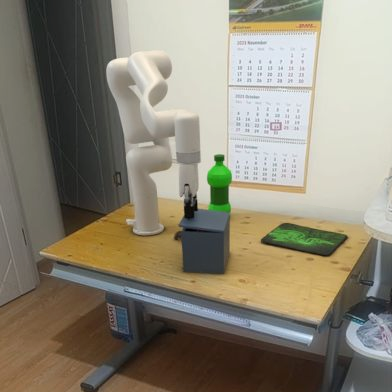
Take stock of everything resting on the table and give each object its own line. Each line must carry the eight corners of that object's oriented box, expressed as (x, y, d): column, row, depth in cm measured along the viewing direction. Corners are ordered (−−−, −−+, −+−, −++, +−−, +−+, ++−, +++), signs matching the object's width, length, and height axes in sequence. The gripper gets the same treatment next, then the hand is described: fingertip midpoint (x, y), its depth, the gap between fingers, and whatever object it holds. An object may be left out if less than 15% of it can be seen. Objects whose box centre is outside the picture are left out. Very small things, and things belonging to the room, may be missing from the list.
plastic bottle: (221, 211, 207) (221, 151, 192) (236, 218, 199) (237, 155, 185) (203, 216, 202) (201, 155, 188) (217, 223, 195) (216, 160, 181)
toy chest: (183, 271, 159) (181, 231, 151) (192, 251, 172) (190, 213, 164) (223, 273, 157) (223, 233, 149) (229, 253, 170) (229, 214, 162)
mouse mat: (349, 236, 179) (349, 233, 178) (329, 257, 164) (329, 254, 163) (282, 224, 191) (282, 221, 191) (258, 242, 176) (258, 240, 176)
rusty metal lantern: (183, 236, 170) (206, 225, 172) (168, 222, 179) (190, 212, 181) (187, 253, 175) (210, 242, 177) (172, 238, 184) (194, 228, 186)
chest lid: (178, 227, 150) (179, 208, 146) (188, 209, 163) (189, 191, 160) (223, 233, 149) (225, 213, 145) (229, 214, 162) (231, 196, 158)
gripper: (181, 151, 153) (184, 206, 163) (170, 164, 139) (174, 223, 149) (204, 151, 152) (206, 206, 162) (195, 164, 138) (198, 224, 148)
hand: (191, 214), depth 155 cm, fingers closed on chest lid, 6 cm apart
